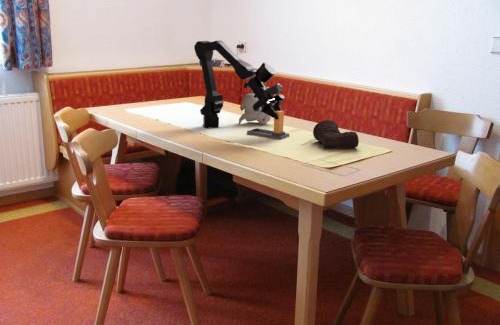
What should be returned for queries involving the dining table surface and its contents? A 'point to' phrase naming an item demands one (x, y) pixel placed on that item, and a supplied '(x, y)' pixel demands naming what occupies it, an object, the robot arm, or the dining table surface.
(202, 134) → the dining table surface
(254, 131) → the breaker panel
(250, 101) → the toy
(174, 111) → the dining table surface
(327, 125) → the dark brown bent piece
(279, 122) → the breaker toggle
